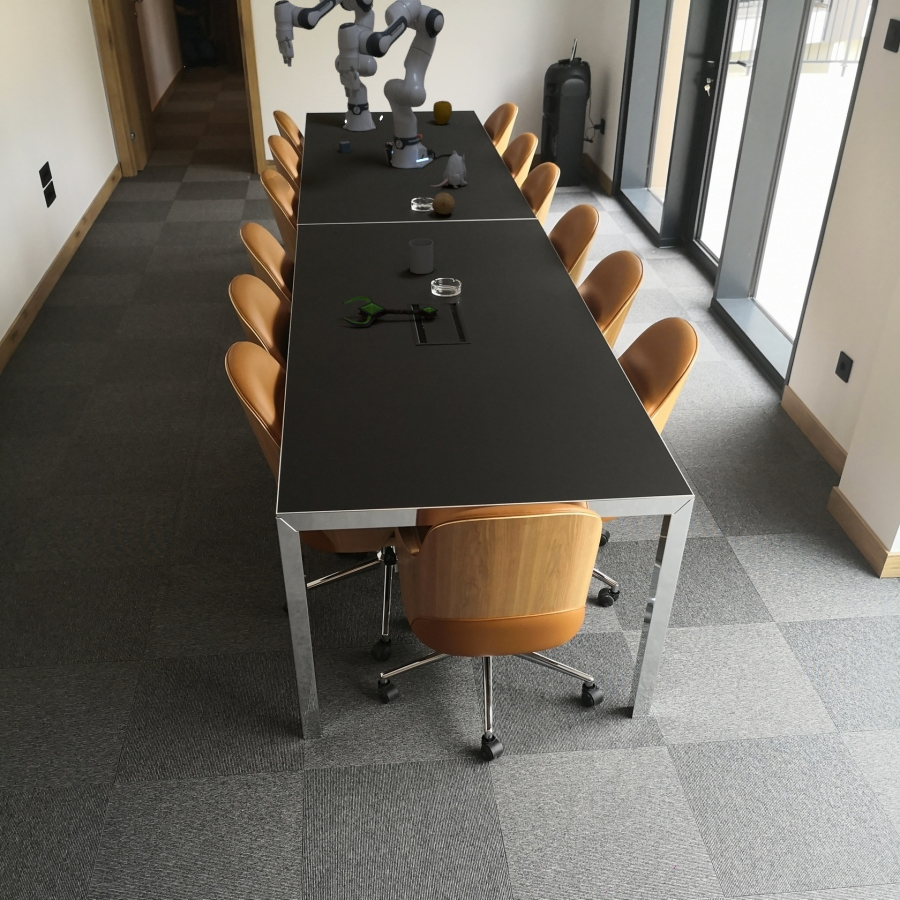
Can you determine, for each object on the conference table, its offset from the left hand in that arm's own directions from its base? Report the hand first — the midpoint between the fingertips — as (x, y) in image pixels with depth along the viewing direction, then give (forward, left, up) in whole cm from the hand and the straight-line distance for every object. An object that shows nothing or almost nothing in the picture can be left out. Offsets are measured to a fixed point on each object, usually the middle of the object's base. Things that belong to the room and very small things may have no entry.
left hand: (287, 65), depth 453 cm
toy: (+89, +88, -38) cm, 131 cm away
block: (+25, +32, -38) cm, 55 cm away
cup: (+192, +85, -38) cm, 213 cm away
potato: (+127, +89, -38) cm, 159 cm away
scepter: (+235, +78, -38) cm, 250 cm away
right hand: (+84, +46, 0) cm, 96 cm away
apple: (-41, +79, -38) cm, 96 cm away
